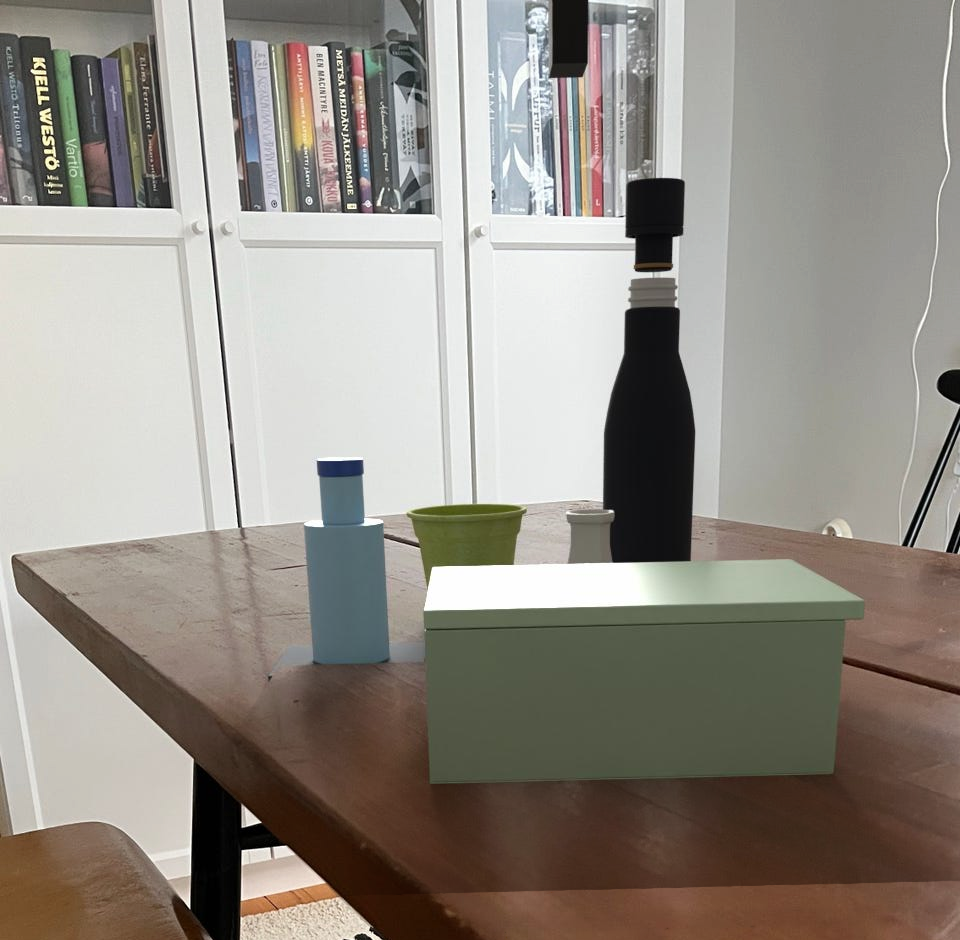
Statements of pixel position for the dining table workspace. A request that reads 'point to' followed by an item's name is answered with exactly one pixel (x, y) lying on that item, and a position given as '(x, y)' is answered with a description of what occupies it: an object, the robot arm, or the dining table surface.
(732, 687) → the cool chest
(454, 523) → the plant pot
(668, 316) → the black bottle
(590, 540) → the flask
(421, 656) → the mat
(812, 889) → the dining table surface
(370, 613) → the water bottle
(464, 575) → the lid
